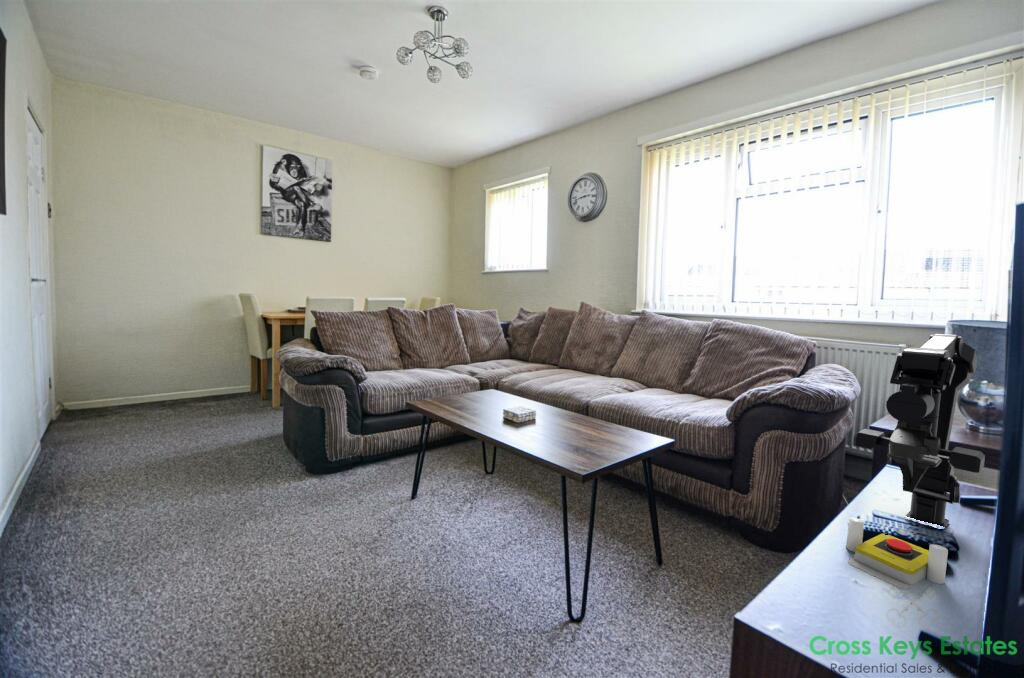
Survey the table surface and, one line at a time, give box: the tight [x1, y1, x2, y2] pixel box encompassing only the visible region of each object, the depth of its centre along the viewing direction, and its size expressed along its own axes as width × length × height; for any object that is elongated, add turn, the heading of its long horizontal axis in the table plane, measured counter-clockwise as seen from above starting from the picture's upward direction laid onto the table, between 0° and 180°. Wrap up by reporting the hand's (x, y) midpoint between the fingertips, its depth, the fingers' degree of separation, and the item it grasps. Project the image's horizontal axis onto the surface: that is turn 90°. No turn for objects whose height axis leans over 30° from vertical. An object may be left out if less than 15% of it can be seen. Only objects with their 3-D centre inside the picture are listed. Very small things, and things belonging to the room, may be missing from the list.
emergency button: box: [847, 533, 929, 590], centre depth 86 cm, size 9×4×15 cm
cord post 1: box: [845, 517, 865, 553], centre depth 91 cm, size 2×2×6 cm
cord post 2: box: [925, 543, 949, 585], centre depth 81 cm, size 2×2×6 cm
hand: (910, 490), depth 91 cm, fingers closed
